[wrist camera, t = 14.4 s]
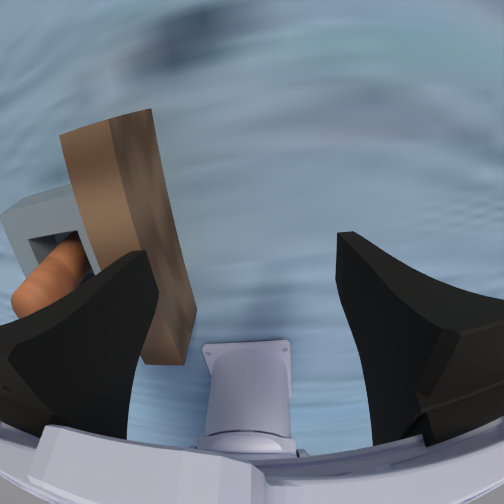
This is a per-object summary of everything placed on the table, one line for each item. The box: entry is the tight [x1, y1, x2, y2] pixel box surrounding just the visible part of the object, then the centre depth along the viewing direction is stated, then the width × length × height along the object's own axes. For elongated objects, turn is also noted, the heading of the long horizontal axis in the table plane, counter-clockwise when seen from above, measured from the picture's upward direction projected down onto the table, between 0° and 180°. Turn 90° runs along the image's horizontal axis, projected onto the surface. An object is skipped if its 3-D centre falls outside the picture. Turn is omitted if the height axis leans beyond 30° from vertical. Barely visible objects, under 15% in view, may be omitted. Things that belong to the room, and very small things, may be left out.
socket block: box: [0, 184, 101, 289], centre depth 20 cm, size 10×10×4 cm
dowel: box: [11, 231, 92, 319], centre depth 18 cm, size 3×3×8 cm
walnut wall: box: [59, 109, 197, 365], centre depth 18 cm, size 16×3×6 cm, turn 6°
